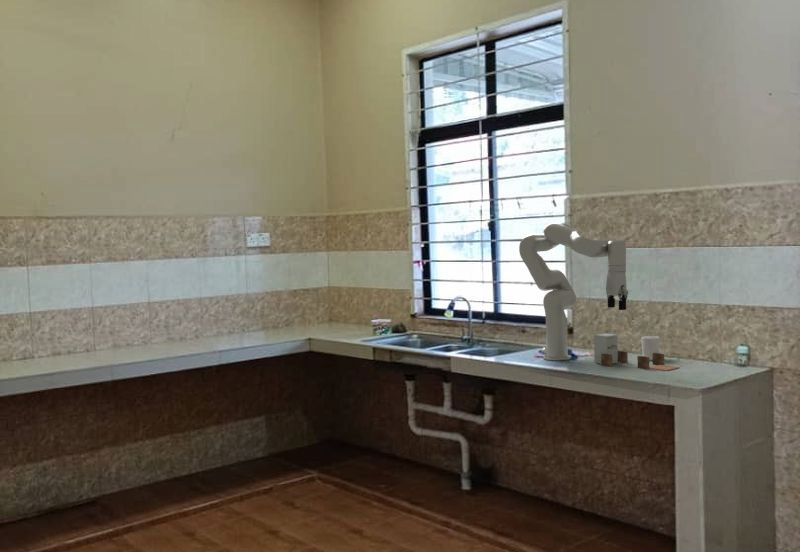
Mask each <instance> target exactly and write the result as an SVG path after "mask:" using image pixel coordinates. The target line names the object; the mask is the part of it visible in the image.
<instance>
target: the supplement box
mask: <svg viewBox="0 0 800 552" xmlns="http://www.w3.org/2000/svg"><path fill="white" fill-rule="evenodd" d="M593 346H594V348H593V349H594V350H593V351H594V352H593V353H594V355H593V357H594V361H593V362H594V363H595V364H600V365H601V354H602V353H603V354H611V355H612V364H618V363H619V362H618V352H617V350H618V334H614V333H600V334H594V335H593Z"/></svg>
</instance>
